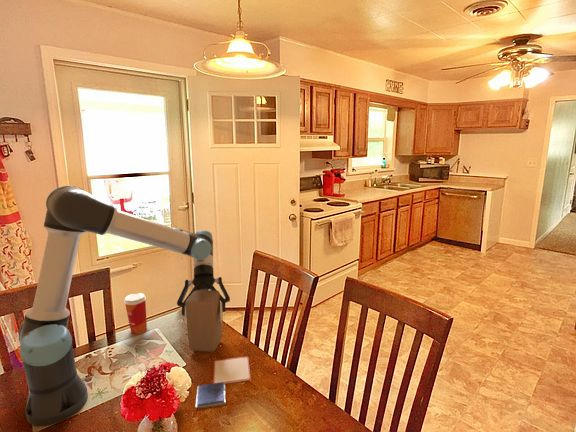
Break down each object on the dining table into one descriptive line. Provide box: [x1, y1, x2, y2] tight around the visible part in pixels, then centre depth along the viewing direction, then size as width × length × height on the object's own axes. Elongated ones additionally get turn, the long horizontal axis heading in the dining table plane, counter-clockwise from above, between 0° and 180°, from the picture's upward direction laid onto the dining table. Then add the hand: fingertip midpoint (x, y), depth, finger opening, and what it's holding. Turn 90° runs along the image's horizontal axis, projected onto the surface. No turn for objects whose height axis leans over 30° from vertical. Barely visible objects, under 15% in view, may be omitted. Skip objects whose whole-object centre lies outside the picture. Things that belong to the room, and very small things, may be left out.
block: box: [185, 289, 223, 353], centre depth 124 cm, size 10×10×20 cm
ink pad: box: [195, 382, 227, 410], centre depth 102 cm, size 8×8×1 cm
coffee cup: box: [123, 292, 148, 335], centre depth 137 cm, size 8×8×15 cm
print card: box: [212, 355, 252, 385], centre depth 113 cm, size 12×12×1 cm
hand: (204, 322), depth 121 cm, fingers closed on block, 12 cm apart
